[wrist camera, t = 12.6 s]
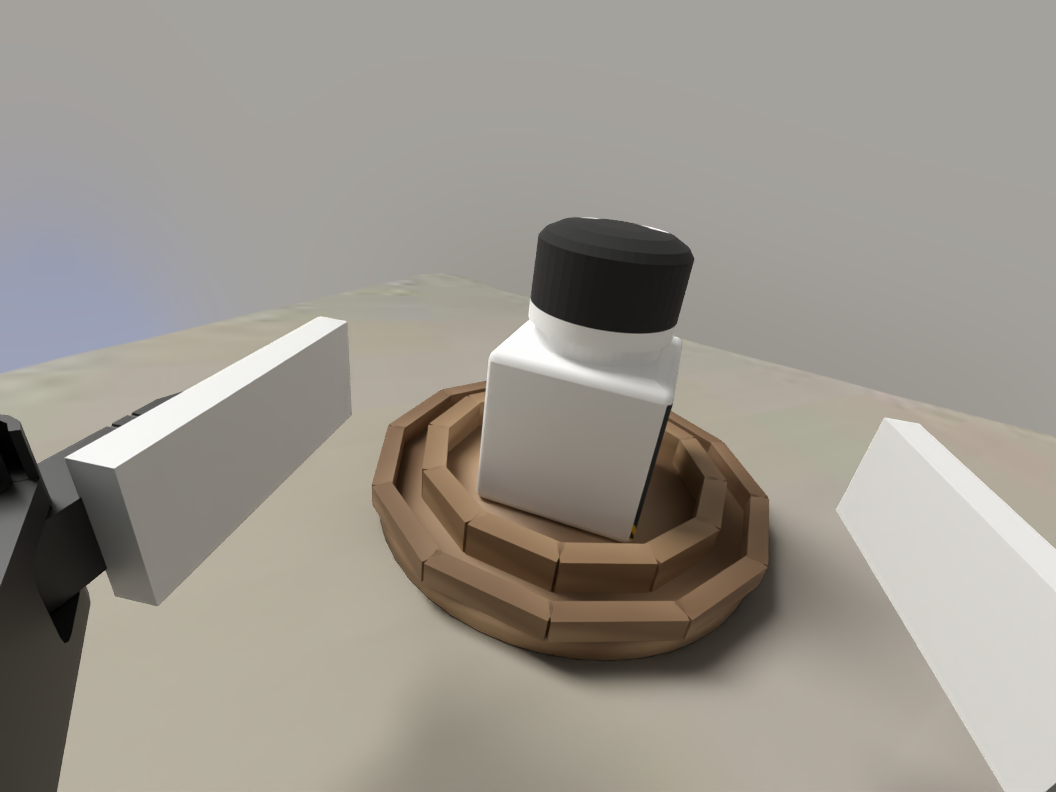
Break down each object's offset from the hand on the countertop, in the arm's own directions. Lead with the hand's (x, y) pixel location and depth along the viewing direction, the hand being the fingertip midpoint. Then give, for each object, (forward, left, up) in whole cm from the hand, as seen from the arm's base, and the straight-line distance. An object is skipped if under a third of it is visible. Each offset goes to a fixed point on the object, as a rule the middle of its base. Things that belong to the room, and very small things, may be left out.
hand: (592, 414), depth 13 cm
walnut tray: (-2, -9, -10) cm, 13 cm away
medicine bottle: (-2, -9, -9) cm, 13 cm away
